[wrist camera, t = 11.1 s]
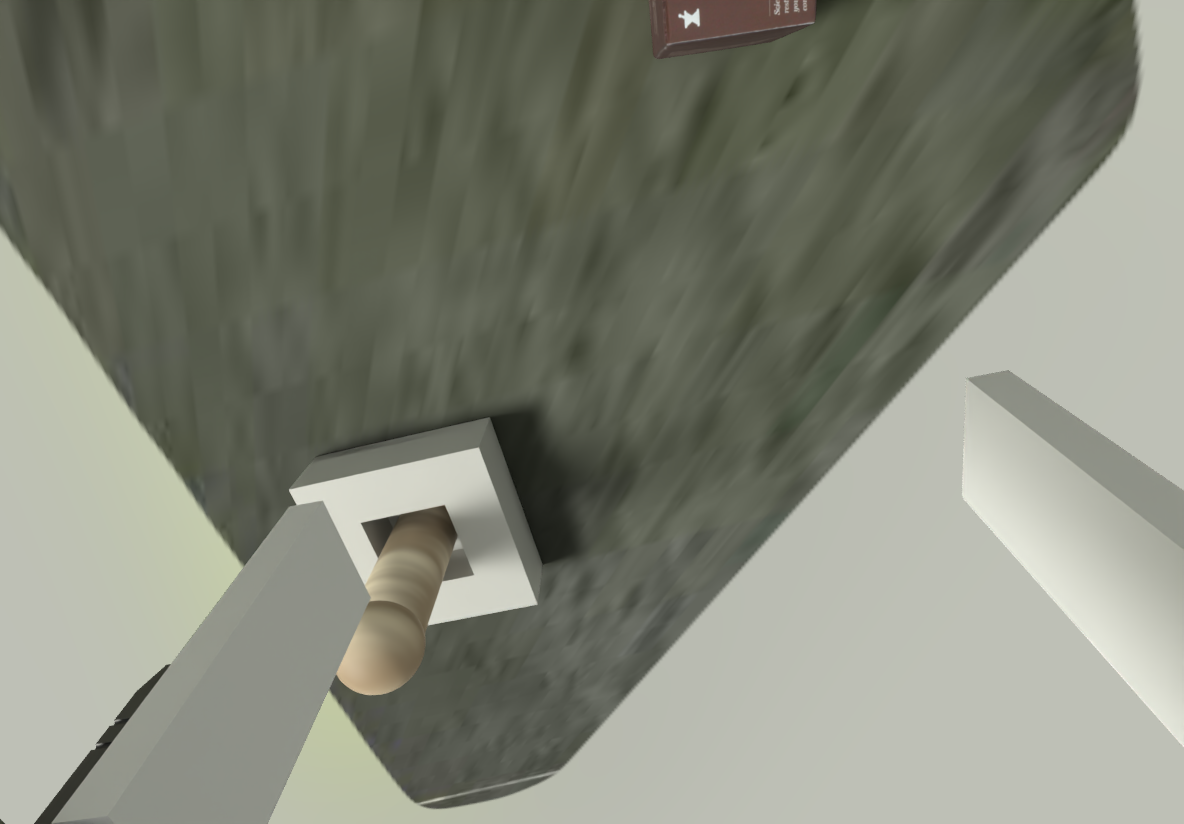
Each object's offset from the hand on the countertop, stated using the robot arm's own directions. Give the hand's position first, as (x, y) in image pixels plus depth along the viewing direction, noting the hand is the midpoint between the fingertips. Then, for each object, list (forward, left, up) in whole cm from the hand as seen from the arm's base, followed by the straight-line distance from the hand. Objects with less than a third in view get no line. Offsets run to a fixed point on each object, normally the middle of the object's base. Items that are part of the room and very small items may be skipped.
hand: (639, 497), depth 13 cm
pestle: (+14, -16, -25) cm, 33 cm away
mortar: (+14, -16, -25) cm, 33 cm away
